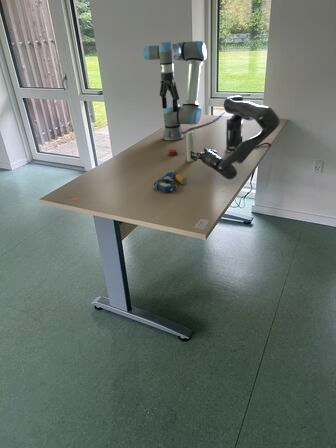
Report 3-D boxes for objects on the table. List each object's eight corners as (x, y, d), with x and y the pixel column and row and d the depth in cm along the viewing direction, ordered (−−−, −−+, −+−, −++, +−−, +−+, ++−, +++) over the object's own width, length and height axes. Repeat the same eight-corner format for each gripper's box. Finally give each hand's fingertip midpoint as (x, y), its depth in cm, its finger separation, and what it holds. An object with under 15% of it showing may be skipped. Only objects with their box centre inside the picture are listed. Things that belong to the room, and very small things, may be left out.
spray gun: (192, 178, 182) (167, 175, 189) (191, 170, 180) (167, 168, 186) (176, 195, 167) (150, 192, 173) (175, 187, 165) (149, 184, 171)
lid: (171, 152, 222) (171, 148, 220) (178, 153, 219) (178, 149, 218) (167, 155, 218) (166, 151, 217) (174, 156, 215) (174, 152, 214)
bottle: (190, 162, 204) (189, 133, 195) (185, 160, 207) (184, 132, 198) (196, 160, 206) (195, 132, 197) (191, 158, 209) (190, 130, 200)
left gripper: (152, 71, 201) (155, 107, 212) (172, 74, 182) (174, 114, 193) (162, 69, 204) (165, 105, 215) (183, 73, 185) (185, 112, 196)
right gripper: (199, 169, 180) (187, 159, 193) (223, 163, 184) (209, 154, 197) (199, 155, 176) (186, 147, 189) (223, 150, 180) (208, 142, 193)
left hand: (170, 110), depth 204 cm, fingers open, 13 cm apart
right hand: (198, 151), depth 193 cm, fingers open, 8 cm apart
